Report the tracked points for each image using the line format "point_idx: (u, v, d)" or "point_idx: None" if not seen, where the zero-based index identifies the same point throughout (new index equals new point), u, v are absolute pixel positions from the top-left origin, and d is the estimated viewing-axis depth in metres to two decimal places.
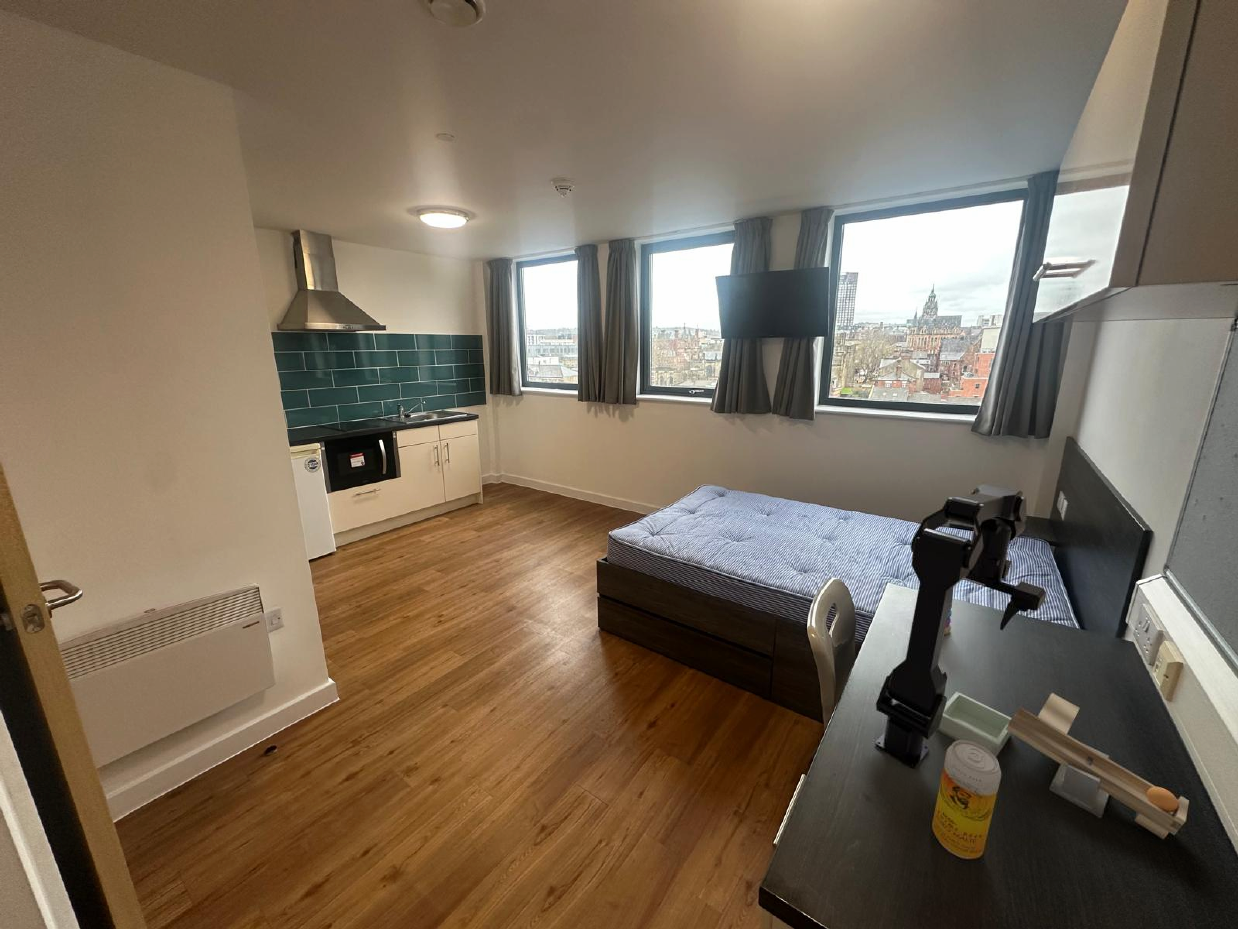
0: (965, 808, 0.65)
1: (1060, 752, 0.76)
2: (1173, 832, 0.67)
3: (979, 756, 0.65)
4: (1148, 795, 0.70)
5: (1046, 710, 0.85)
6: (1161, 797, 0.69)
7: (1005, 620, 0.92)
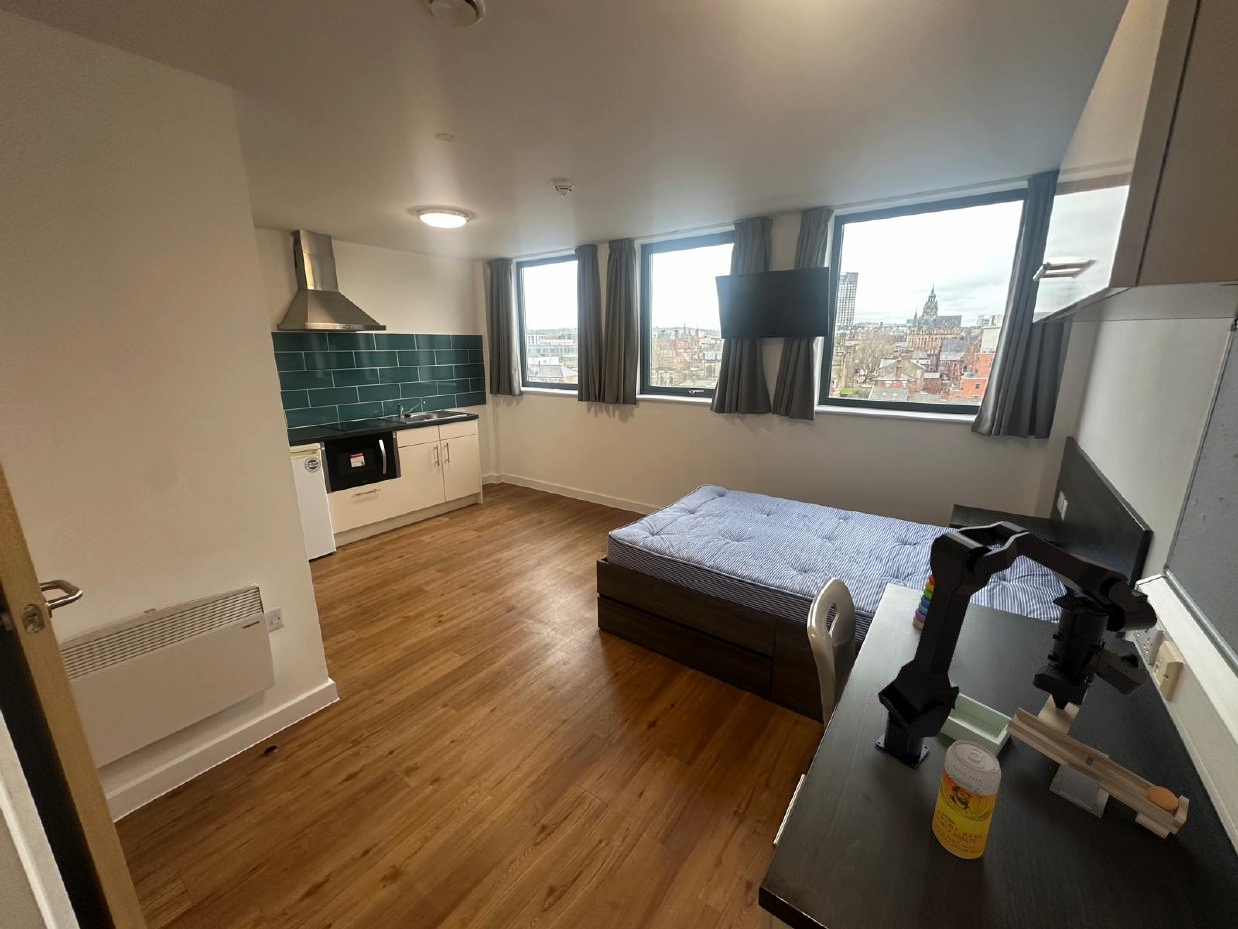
0: (965, 808, 0.65)
1: (1060, 752, 0.76)
2: (1174, 831, 0.67)
3: (979, 757, 0.65)
4: (1148, 794, 0.70)
5: (1046, 710, 0.85)
6: (1161, 796, 0.69)
7: None
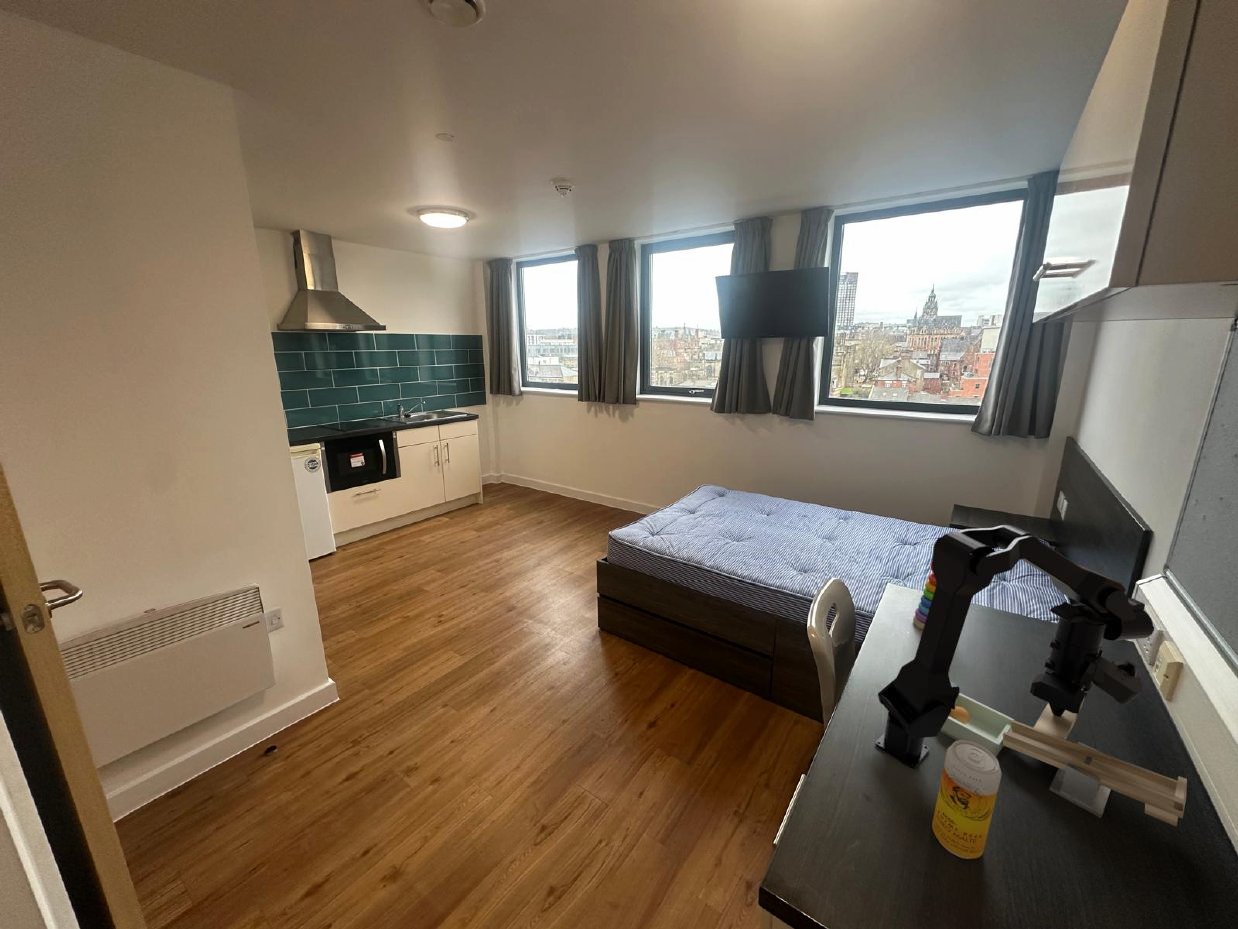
0: (965, 808, 0.65)
1: (1055, 755, 0.77)
2: (1180, 815, 0.66)
3: (979, 757, 0.65)
4: (960, 711, 0.89)
5: (1042, 720, 0.86)
6: (963, 721, 0.88)
7: None
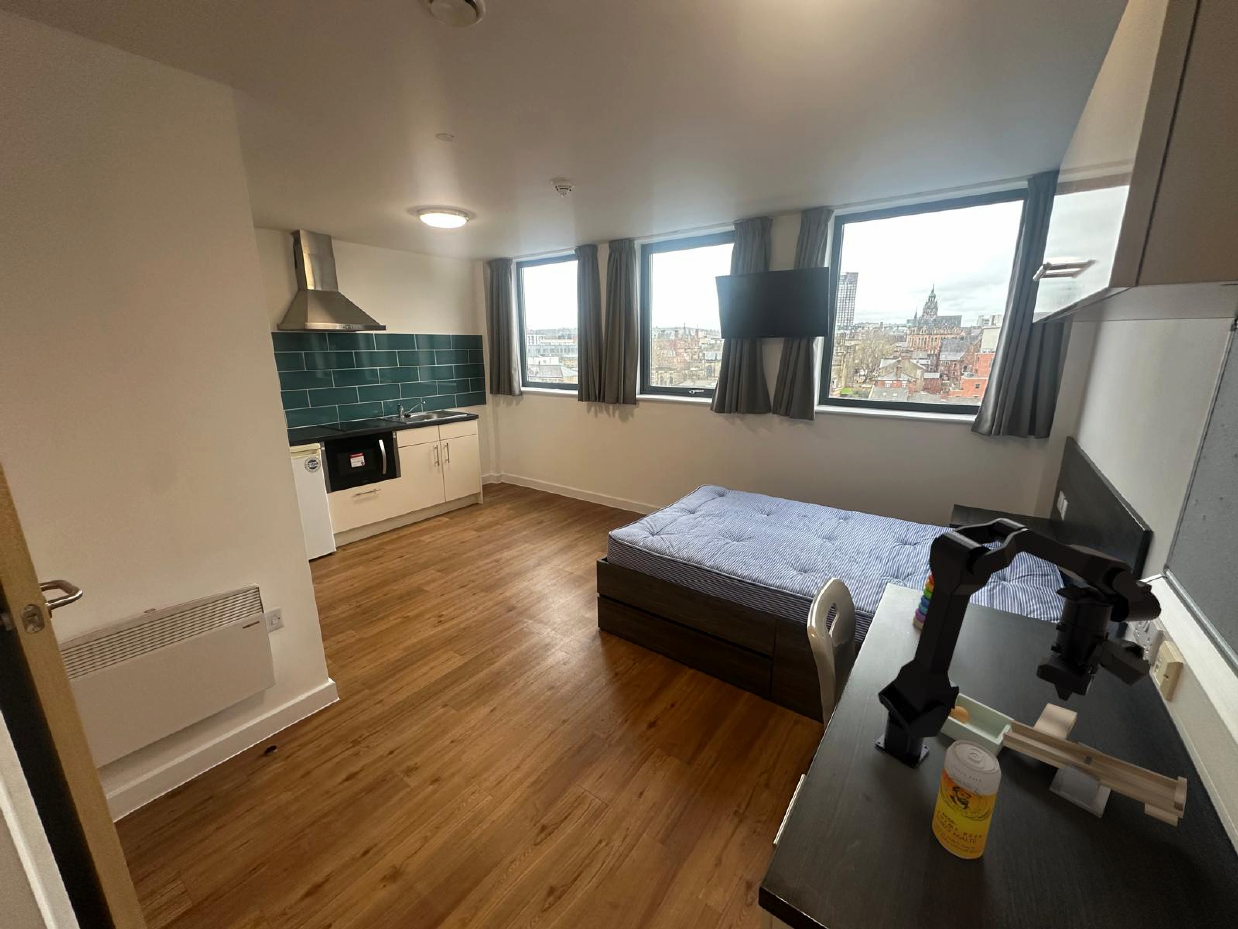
0: (965, 808, 0.65)
1: (1055, 755, 0.77)
2: (1180, 815, 0.66)
3: (979, 757, 0.65)
4: (959, 711, 0.89)
5: (1042, 720, 0.86)
6: (963, 721, 0.88)
7: None
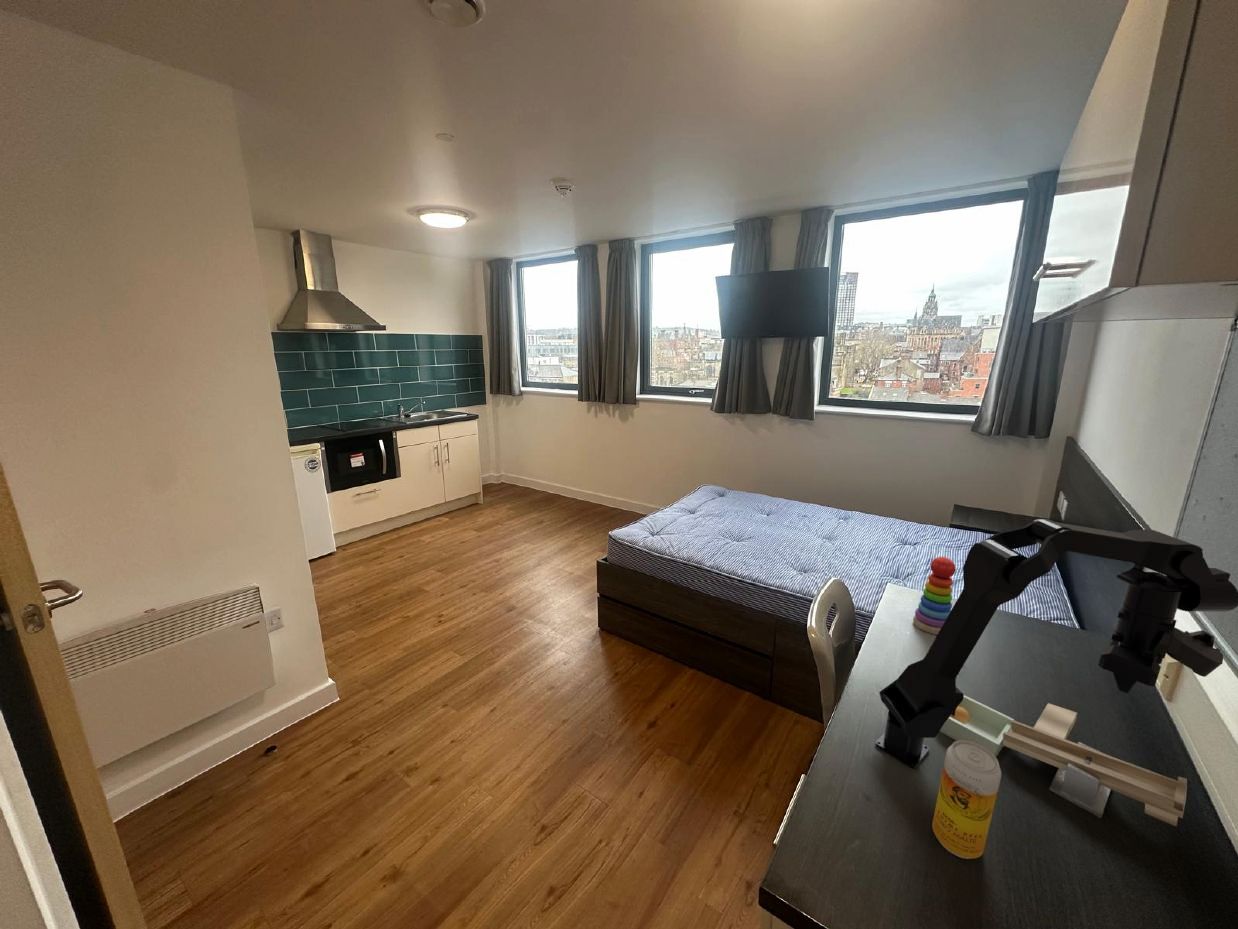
0: (965, 808, 0.65)
1: (1055, 755, 0.77)
2: (1180, 815, 0.66)
3: (979, 757, 0.65)
4: (960, 711, 0.89)
5: (1042, 720, 0.86)
6: (963, 721, 0.88)
7: None
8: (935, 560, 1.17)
